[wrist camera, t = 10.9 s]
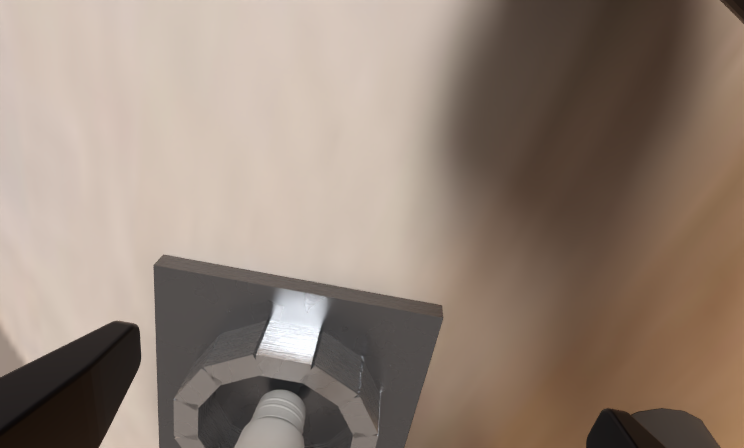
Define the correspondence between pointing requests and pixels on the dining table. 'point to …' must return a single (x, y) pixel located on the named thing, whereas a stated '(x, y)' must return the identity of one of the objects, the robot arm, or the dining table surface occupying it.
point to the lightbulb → (275, 422)
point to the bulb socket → (285, 356)
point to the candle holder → (676, 428)
